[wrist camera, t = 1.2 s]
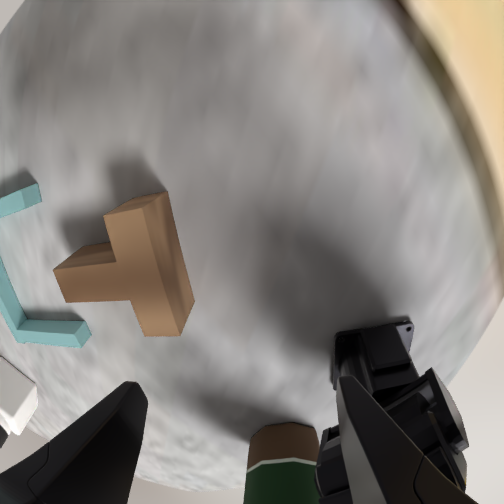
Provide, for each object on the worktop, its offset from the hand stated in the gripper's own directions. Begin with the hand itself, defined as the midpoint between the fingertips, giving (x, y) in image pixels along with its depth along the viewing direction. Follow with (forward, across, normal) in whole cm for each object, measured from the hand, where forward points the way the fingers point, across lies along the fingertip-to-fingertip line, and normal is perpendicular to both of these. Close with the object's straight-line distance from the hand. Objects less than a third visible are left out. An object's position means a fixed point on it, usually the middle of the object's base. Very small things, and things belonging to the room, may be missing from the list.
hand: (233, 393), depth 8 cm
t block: (+12, +9, 0) cm, 15 cm away
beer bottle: (+12, 0, +23) cm, 26 cm away
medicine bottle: (+12, +37, +17) cm, 43 cm away
